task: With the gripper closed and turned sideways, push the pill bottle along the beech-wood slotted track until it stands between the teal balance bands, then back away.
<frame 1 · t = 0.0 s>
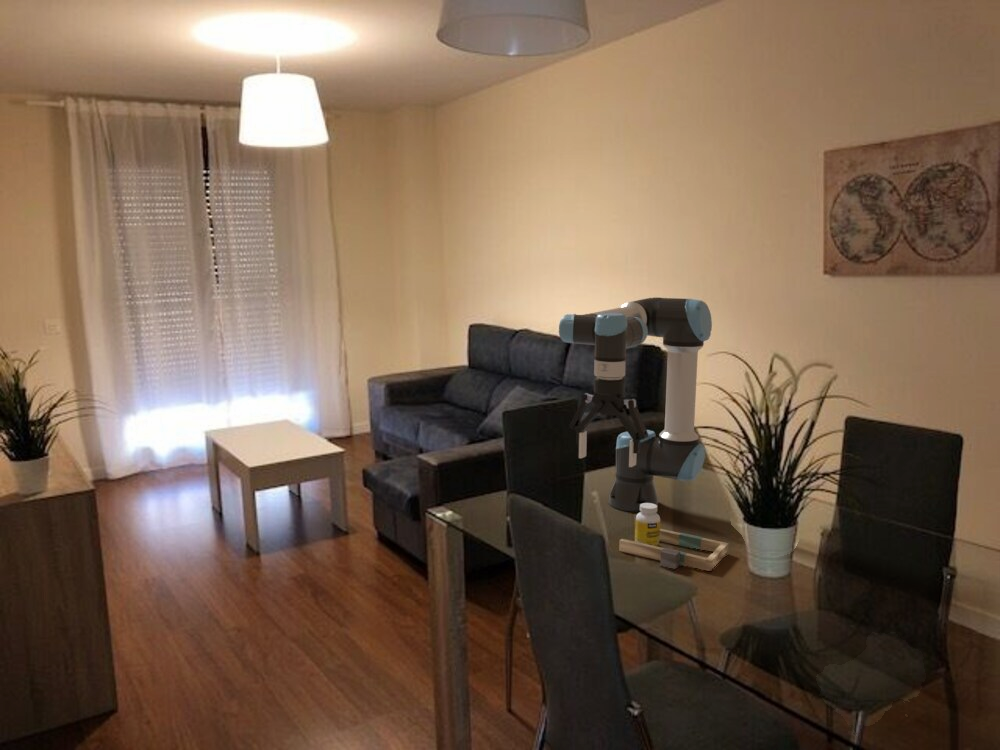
hand: (607, 461, 202), 28 cm above the table, fingers open, 13 cm apart
pill bottle: (646, 547, 221), on the table
beam track: (671, 552, 218), on the table
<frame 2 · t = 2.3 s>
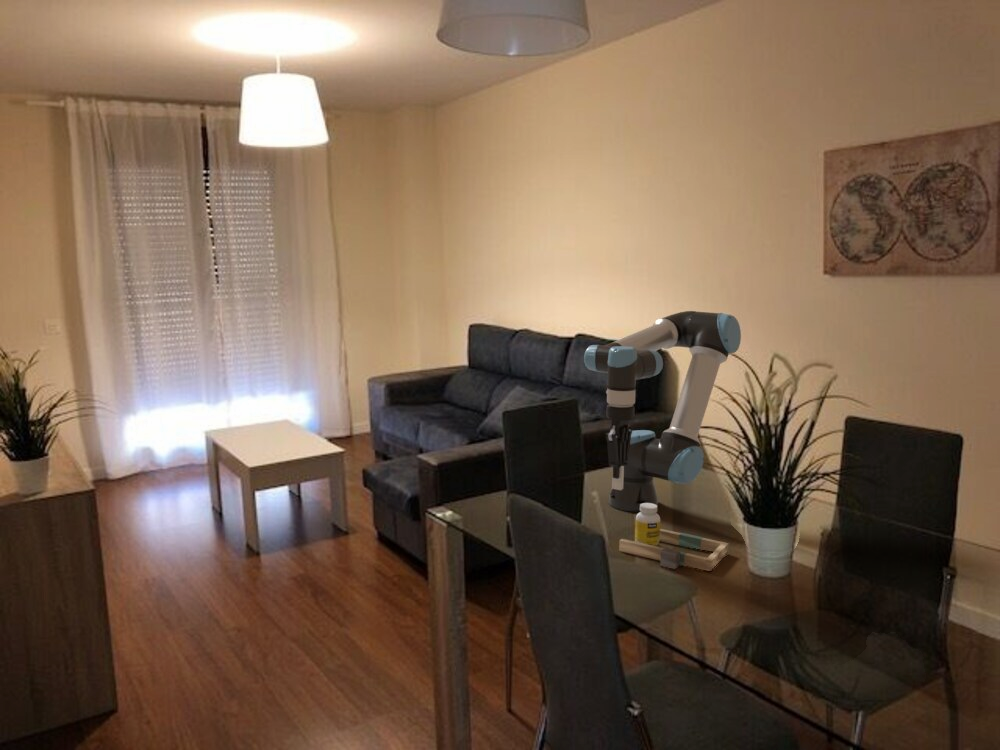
hand: (617, 488, 223), 15 cm above the table, fingers closed
nothing on the table moved.
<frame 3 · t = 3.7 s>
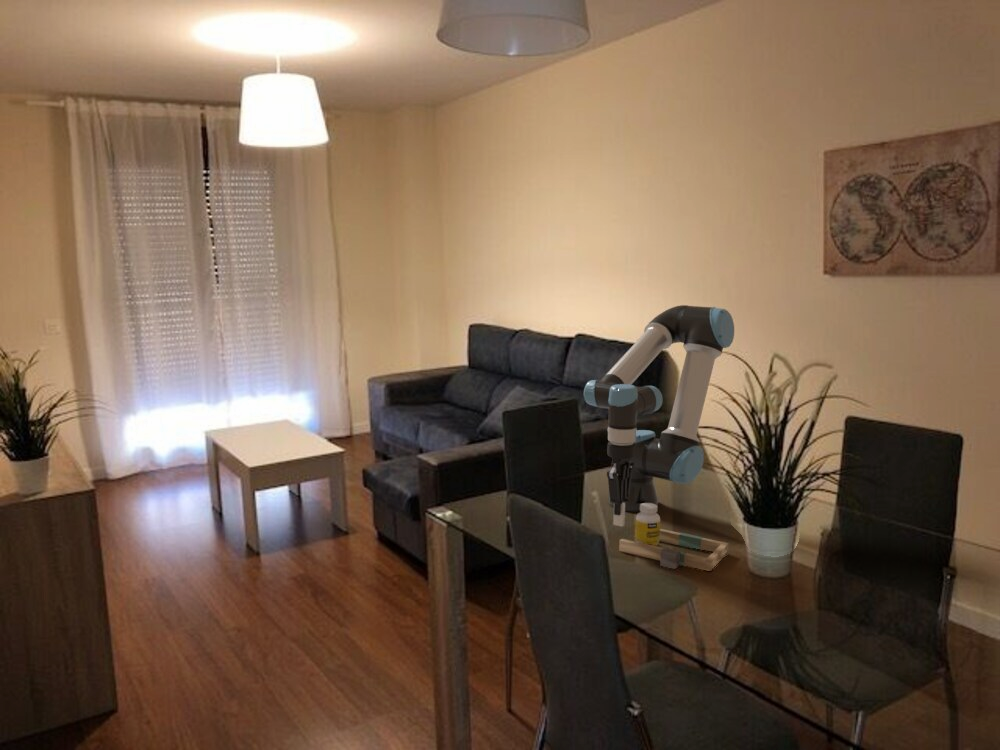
hand: (618, 524, 225), 4 cm above the table, fingers closed
nothing on the table moved.
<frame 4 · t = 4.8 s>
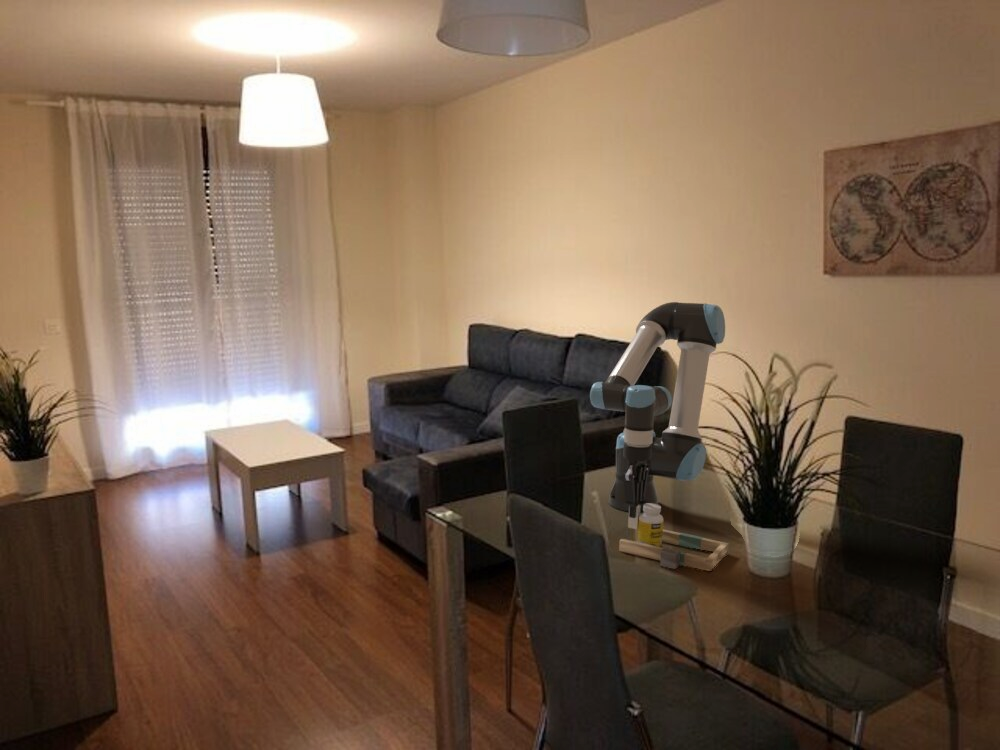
hand: (633, 527, 222), 5 cm above the table, fingers closed
pill bottle: (649, 547, 221), on the table, touching gripper
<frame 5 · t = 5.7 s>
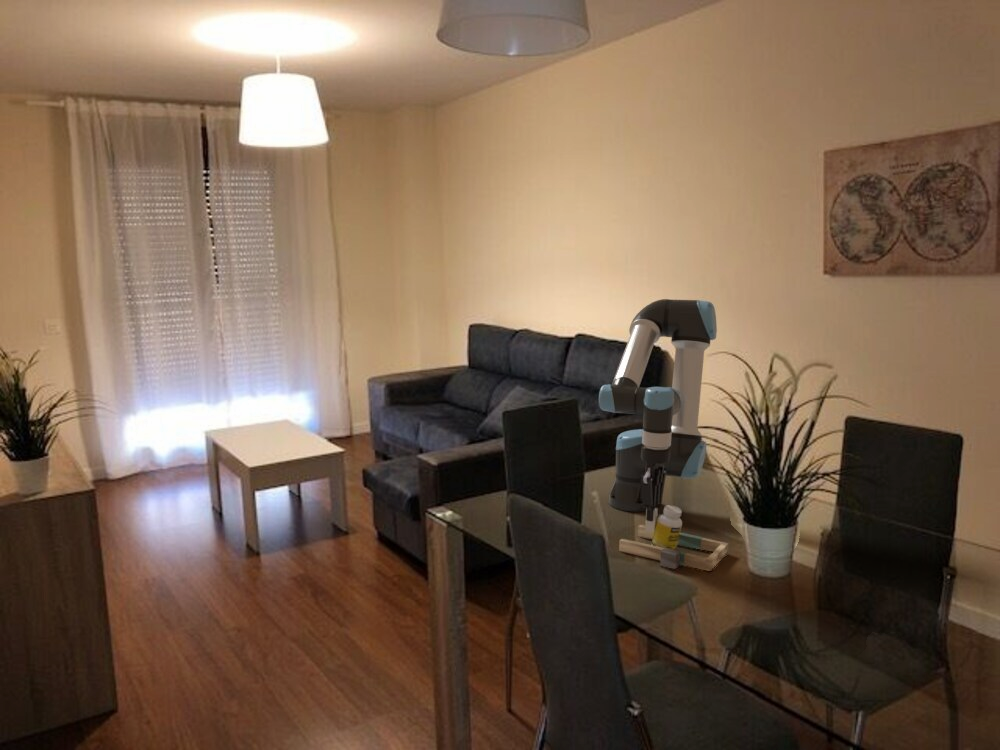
hand: (650, 531, 219), 5 cm above the table, fingers closed
pill bottle: (663, 548, 219), on the table, touching gripper
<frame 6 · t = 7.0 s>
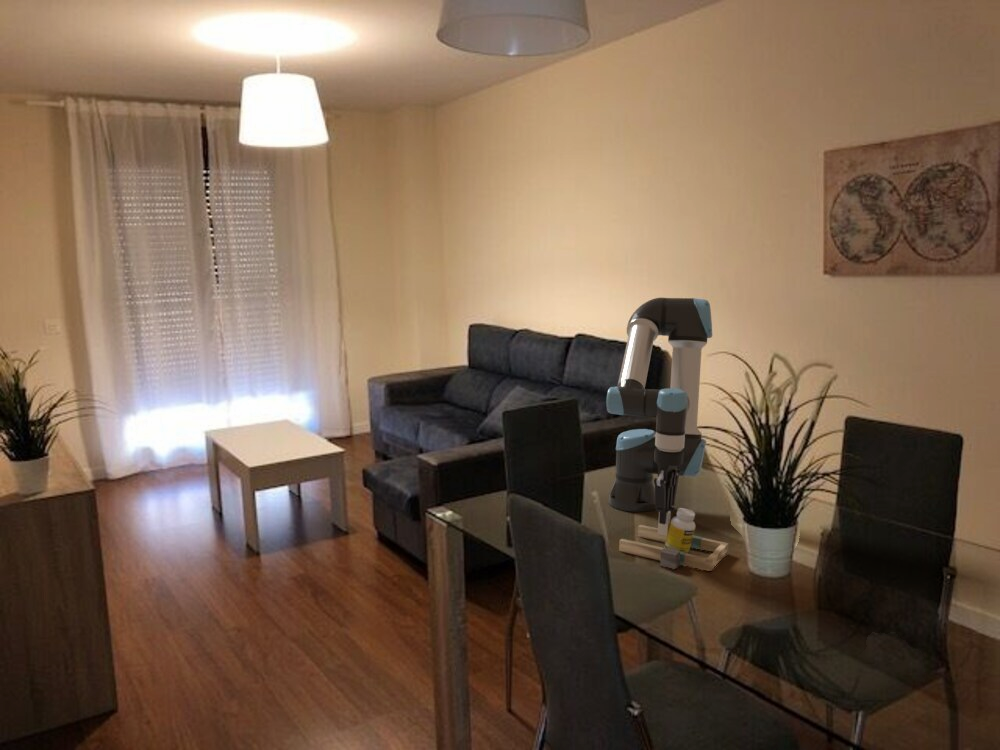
hand: (663, 534, 217), 5 cm above the table, fingers closed
pill bottle: (675, 551, 217), on the table, touching gripper
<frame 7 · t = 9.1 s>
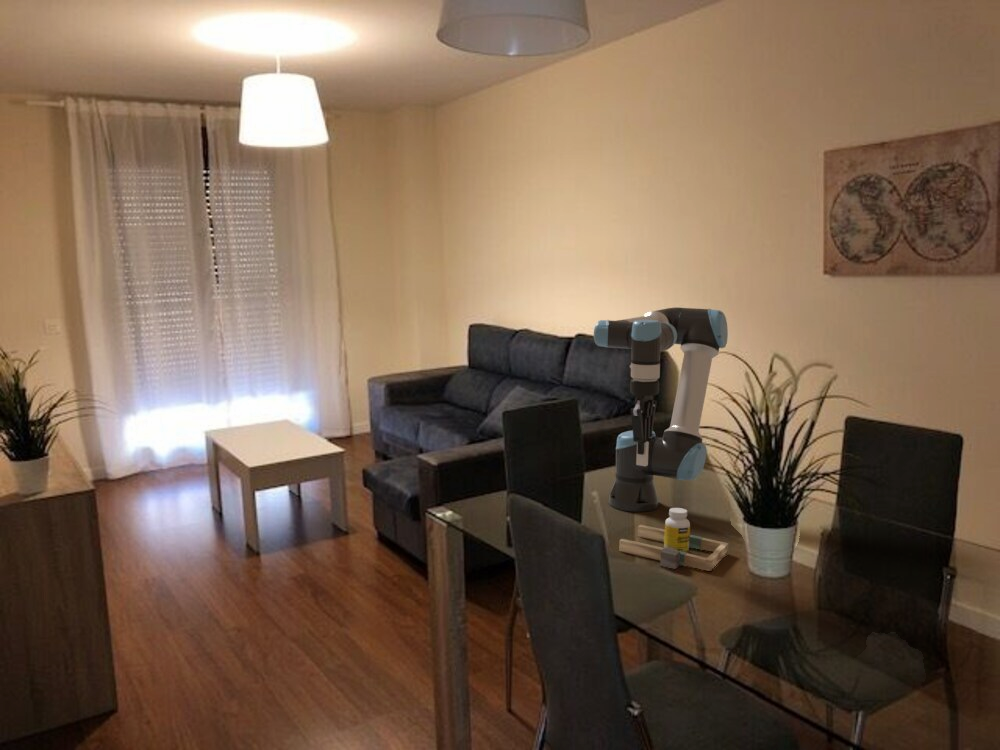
hand: (642, 464, 219), 22 cm above the table, fingers closed
pill bottle: (676, 553, 217), on the table
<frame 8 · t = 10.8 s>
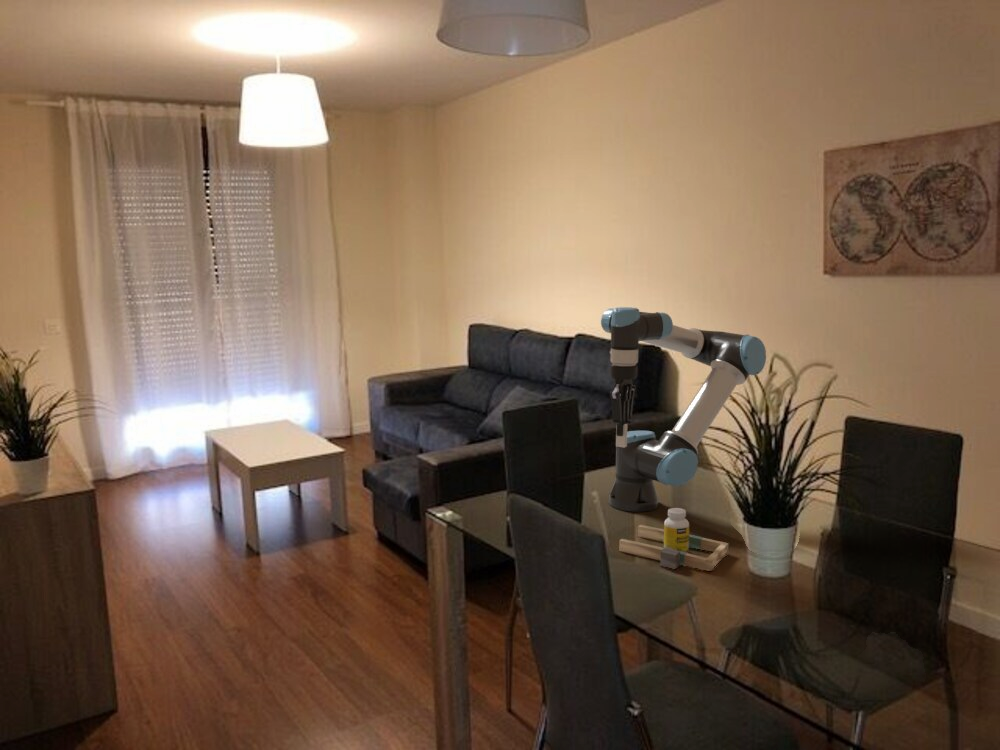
hand: (621, 446, 230), 24 cm above the table, fingers closed
nothing on the table moved.
at the end: pill bottle inside the target area (1.9 cm from its centre), on the table; pill bottle tilted 2° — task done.
